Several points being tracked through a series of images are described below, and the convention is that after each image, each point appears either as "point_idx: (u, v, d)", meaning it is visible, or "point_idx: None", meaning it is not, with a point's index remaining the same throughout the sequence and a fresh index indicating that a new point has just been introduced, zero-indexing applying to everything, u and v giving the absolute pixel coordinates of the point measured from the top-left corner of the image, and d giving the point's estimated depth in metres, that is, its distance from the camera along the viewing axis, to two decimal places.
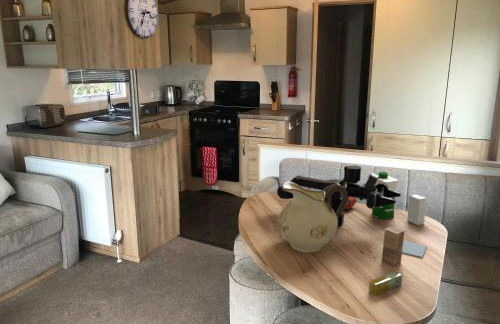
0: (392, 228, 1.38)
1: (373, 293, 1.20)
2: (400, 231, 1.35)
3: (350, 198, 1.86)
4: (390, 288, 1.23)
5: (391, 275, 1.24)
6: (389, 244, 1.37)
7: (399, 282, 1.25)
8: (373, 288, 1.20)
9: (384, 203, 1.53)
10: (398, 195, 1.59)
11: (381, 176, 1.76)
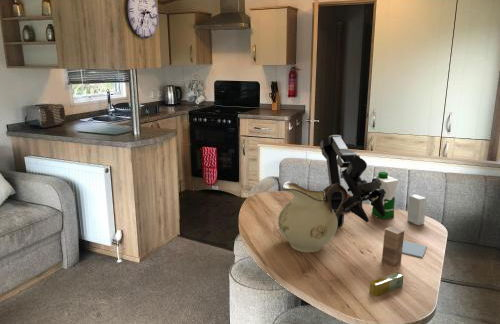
0: (392, 228, 1.38)
1: (374, 294, 1.20)
2: (400, 231, 1.35)
3: None
4: (391, 289, 1.23)
5: (392, 276, 1.24)
6: (389, 244, 1.37)
7: (400, 283, 1.24)
8: (374, 289, 1.20)
9: (358, 213, 1.42)
10: (382, 214, 1.46)
11: (381, 176, 1.76)
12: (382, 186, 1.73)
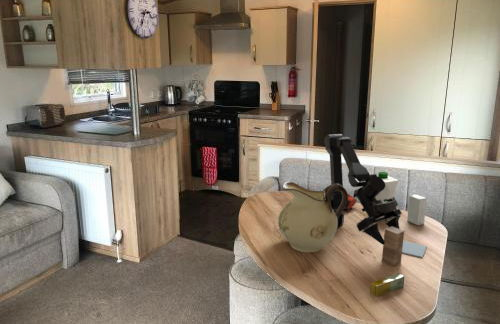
0: (392, 228, 1.38)
1: (374, 294, 1.20)
2: (400, 231, 1.35)
3: (350, 198, 1.86)
4: (392, 289, 1.22)
5: (393, 276, 1.24)
6: (389, 244, 1.37)
7: (401, 284, 1.24)
8: (375, 289, 1.19)
9: (373, 235, 1.37)
10: None
11: (381, 176, 1.76)
12: None
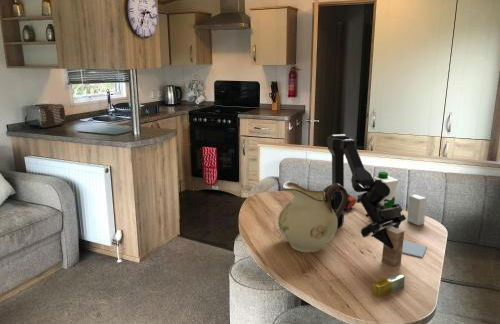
0: (392, 228, 1.38)
1: (376, 295, 1.19)
2: (400, 231, 1.35)
3: (350, 198, 1.86)
4: (393, 290, 1.22)
5: (394, 277, 1.23)
6: None
7: (402, 284, 1.24)
8: (377, 291, 1.19)
9: (382, 239, 1.37)
10: None
11: (381, 176, 1.76)
12: None
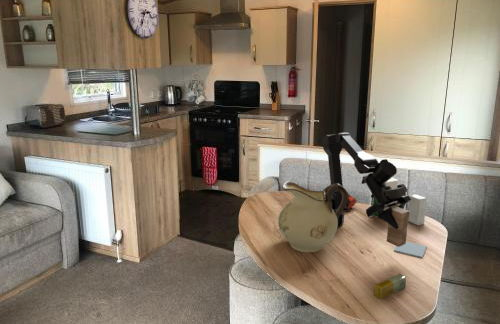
0: (397, 208, 1.38)
1: (378, 296, 1.19)
2: (405, 211, 1.35)
3: (350, 198, 1.86)
4: (395, 291, 1.22)
5: (395, 277, 1.23)
6: None
7: (403, 284, 1.23)
8: (379, 292, 1.18)
9: (387, 220, 1.37)
10: None
11: None
12: None
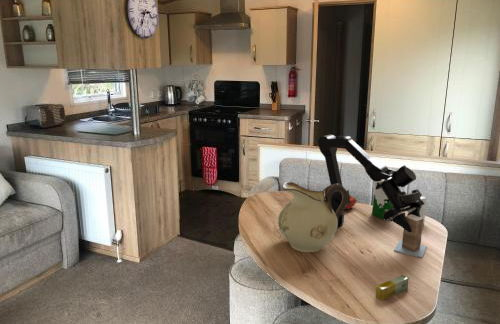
0: (411, 215, 1.47)
1: (380, 298, 1.18)
2: (419, 218, 1.45)
3: None
4: (397, 292, 1.21)
5: (397, 279, 1.22)
6: None
7: (406, 286, 1.23)
8: (380, 293, 1.18)
9: (401, 224, 1.46)
10: None
11: None
12: None
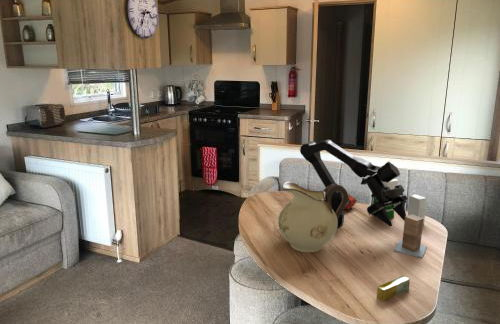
0: (412, 215, 1.47)
1: (381, 298, 1.18)
2: (420, 218, 1.45)
3: (350, 198, 1.86)
4: (398, 293, 1.20)
5: (399, 279, 1.22)
6: (409, 230, 1.46)
7: (407, 286, 1.22)
8: (382, 294, 1.17)
9: (382, 218, 1.51)
10: (404, 219, 1.55)
11: None
12: None
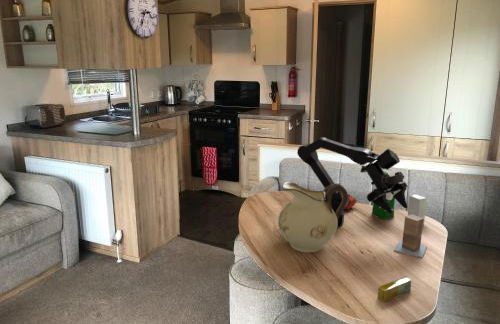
0: (412, 215, 1.47)
1: (382, 299, 1.17)
2: (420, 218, 1.45)
3: (350, 198, 1.86)
4: (399, 294, 1.20)
5: (400, 280, 1.21)
6: (409, 230, 1.46)
7: (408, 287, 1.22)
8: (382, 294, 1.17)
9: (382, 205, 1.50)
10: (404, 206, 1.54)
11: None
12: None
